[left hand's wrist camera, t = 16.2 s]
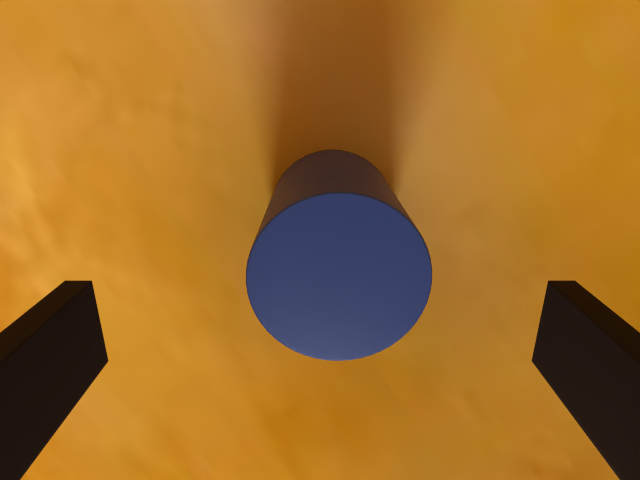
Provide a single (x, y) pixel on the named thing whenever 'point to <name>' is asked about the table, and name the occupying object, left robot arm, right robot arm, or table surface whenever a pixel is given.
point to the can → (337, 260)
